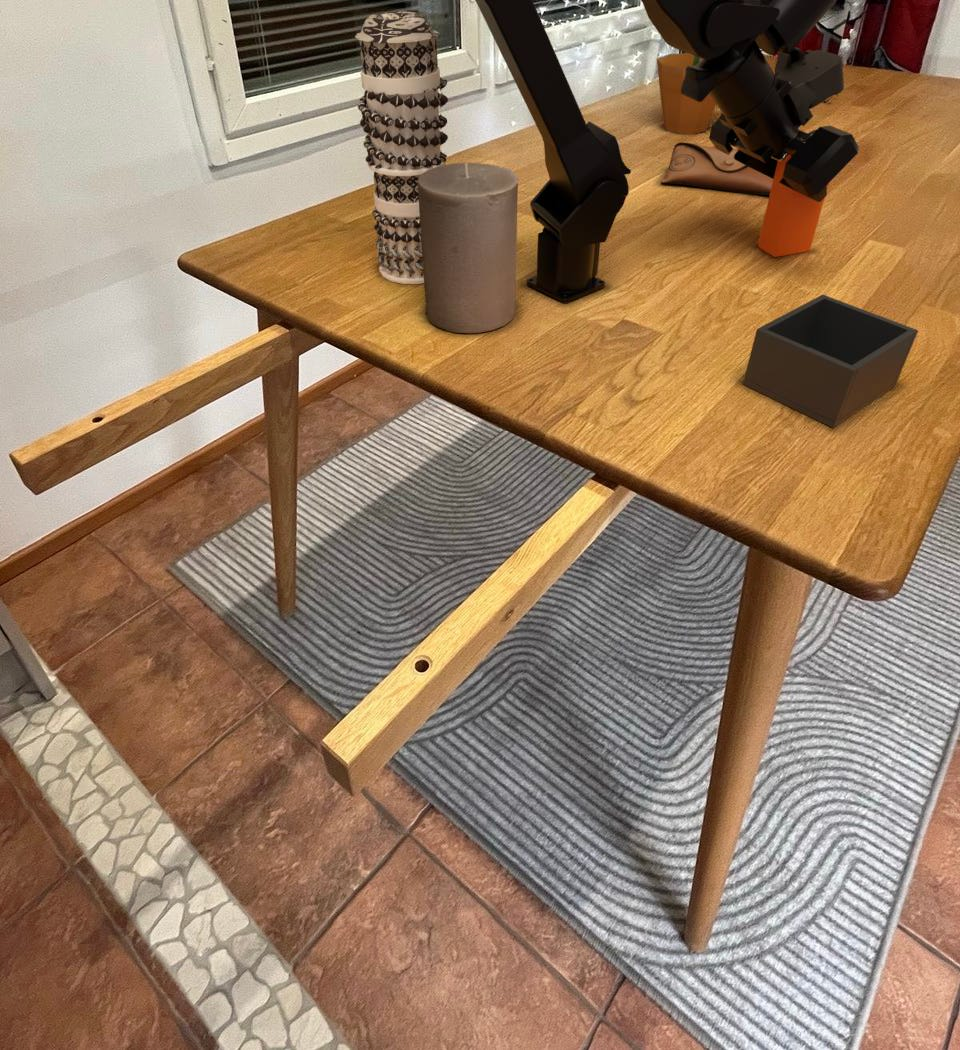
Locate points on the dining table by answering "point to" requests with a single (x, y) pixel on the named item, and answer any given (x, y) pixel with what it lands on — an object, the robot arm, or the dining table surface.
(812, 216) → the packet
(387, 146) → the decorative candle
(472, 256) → the pillar candle
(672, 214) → the dining table surface
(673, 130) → the potted plant
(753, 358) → the trash bin
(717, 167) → the sunglasses case
